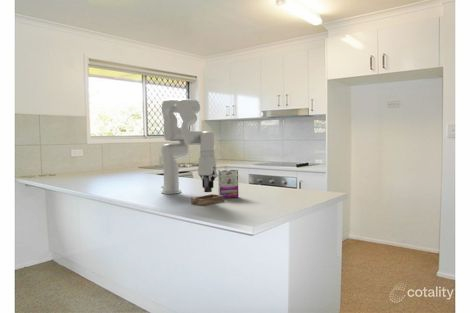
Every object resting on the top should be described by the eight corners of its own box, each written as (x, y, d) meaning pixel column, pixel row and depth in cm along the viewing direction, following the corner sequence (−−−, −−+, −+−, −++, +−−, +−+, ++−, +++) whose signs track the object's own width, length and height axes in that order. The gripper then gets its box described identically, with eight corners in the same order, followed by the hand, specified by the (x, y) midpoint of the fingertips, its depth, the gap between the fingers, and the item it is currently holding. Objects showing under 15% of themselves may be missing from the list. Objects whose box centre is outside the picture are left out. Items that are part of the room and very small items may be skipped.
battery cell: (202, 191, 186) (202, 174, 186) (208, 190, 189) (207, 173, 189) (208, 192, 184) (207, 174, 183) (213, 191, 187) (212, 174, 186)
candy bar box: (236, 196, 205) (236, 169, 204) (238, 197, 200) (238, 169, 199) (218, 197, 202) (217, 169, 201) (220, 198, 197) (219, 170, 196)
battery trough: (191, 203, 184) (191, 198, 183) (212, 199, 196) (212, 194, 196) (202, 205, 178) (202, 200, 178) (224, 200, 190) (224, 195, 190)
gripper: (191, 154, 188) (192, 187, 189) (213, 154, 177) (214, 190, 178) (201, 153, 194) (202, 185, 195) (223, 154, 183) (224, 188, 184)
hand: (208, 187), depth 186 cm, fingers closed on battery cell, 4 cm apart
